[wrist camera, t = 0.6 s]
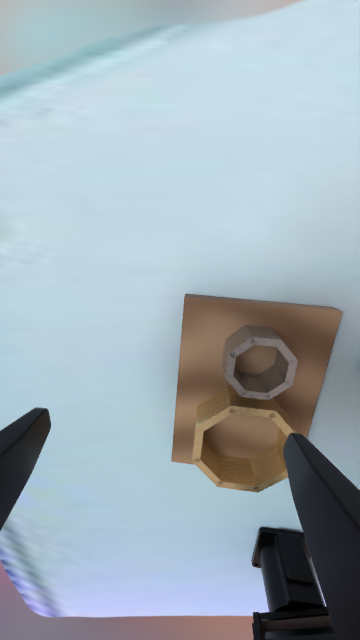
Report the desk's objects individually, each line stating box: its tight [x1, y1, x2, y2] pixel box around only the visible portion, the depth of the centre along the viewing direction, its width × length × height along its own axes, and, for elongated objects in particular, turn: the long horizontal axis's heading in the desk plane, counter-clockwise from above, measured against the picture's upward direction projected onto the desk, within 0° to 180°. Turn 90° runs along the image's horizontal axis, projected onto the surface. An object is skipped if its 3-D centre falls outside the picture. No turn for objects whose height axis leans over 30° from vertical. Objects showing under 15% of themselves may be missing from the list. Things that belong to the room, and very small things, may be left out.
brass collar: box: [192, 386, 298, 492], centre depth 22 cm, size 9×9×3 cm
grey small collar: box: [222, 324, 298, 400], centre depth 20 cm, size 5×5×3 cm
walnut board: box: [171, 294, 342, 465], centre depth 24 cm, size 18×13×2 cm
